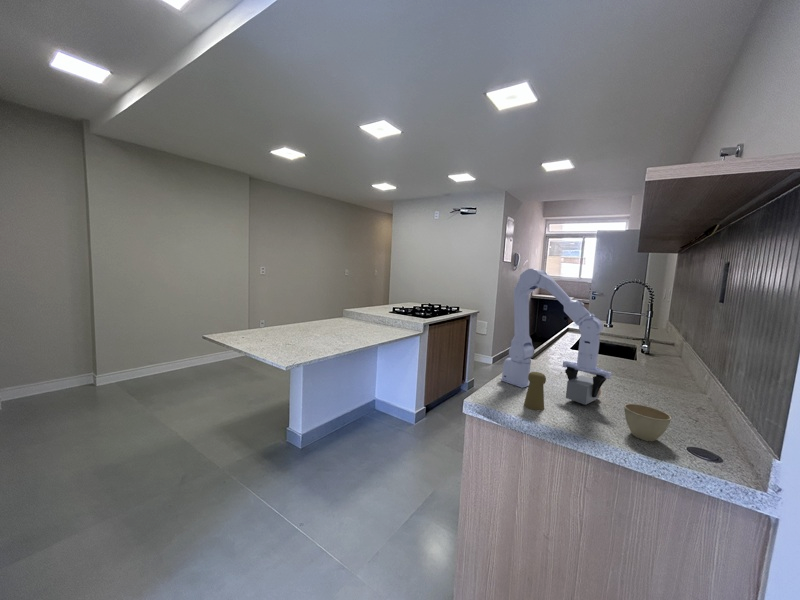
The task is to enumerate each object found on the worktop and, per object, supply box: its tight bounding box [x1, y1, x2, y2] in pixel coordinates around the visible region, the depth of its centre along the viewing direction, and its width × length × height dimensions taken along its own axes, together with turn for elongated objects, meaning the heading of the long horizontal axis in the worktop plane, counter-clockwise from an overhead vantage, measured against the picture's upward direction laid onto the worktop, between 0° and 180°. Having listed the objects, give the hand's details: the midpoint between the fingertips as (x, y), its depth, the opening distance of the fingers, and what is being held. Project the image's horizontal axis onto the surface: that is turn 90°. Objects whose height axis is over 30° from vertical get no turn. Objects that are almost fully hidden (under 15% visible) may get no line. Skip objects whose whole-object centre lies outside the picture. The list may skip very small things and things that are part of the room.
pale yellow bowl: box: [623, 403, 672, 442], centre depth 86 cm, size 10×10×7 cm
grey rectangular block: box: [565, 375, 601, 406], centre depth 109 cm, size 6×11×6 cm, turn 128°
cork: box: [523, 371, 547, 411], centre depth 102 cm, size 6×6×11 cm
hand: (583, 393), depth 109 cm, fingers closed on grey rectangular block, 6 cm apart
